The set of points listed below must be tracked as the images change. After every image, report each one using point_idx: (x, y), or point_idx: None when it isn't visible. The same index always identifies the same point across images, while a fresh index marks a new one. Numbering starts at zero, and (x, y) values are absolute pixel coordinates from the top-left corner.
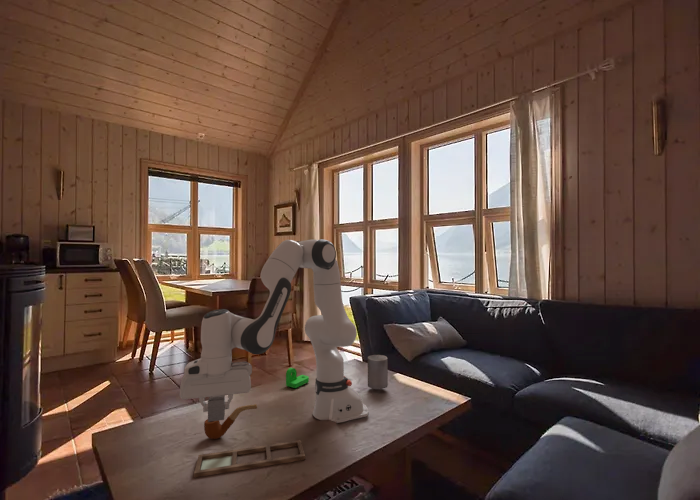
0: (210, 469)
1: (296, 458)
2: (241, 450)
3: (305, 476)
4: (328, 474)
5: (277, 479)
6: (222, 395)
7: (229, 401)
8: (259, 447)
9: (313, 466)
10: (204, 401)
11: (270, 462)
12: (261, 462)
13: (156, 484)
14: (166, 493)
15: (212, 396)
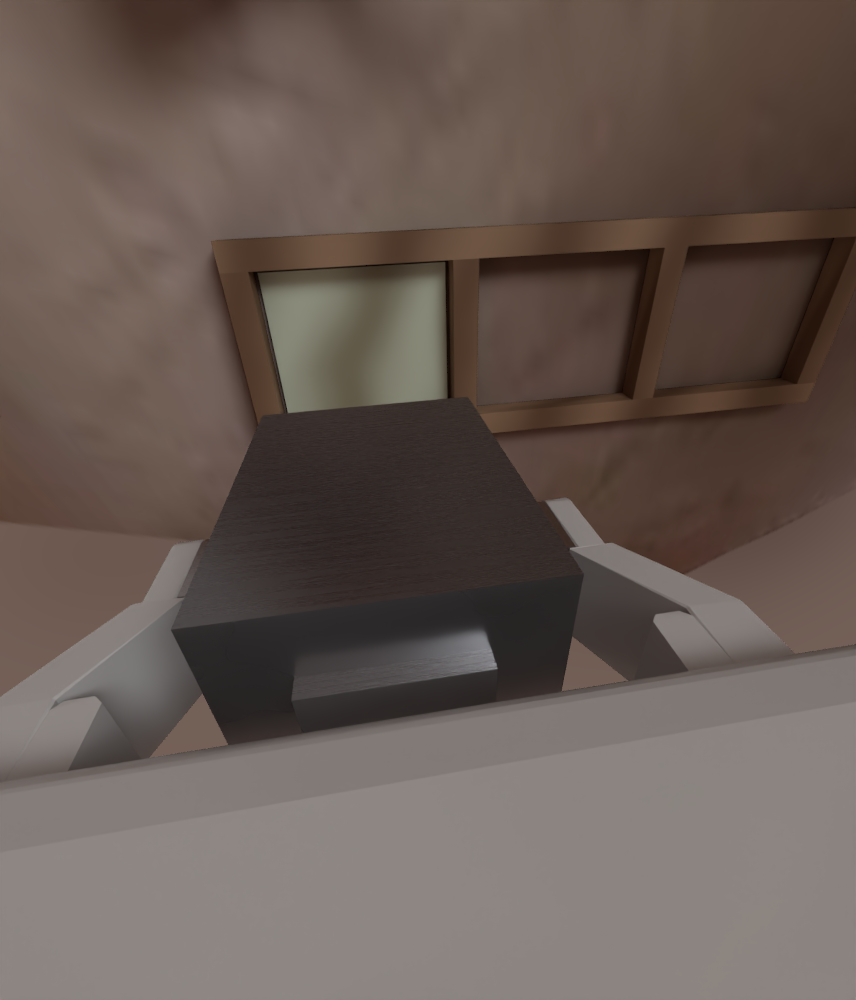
0: None
1: (761, 404)
2: (509, 254)
3: (730, 508)
4: (806, 509)
5: (630, 511)
6: (523, 641)
7: (608, 649)
8: (626, 242)
9: (791, 452)
10: (135, 653)
11: (640, 416)
12: (601, 421)
13: (87, 468)
14: (186, 535)
15: (284, 671)
